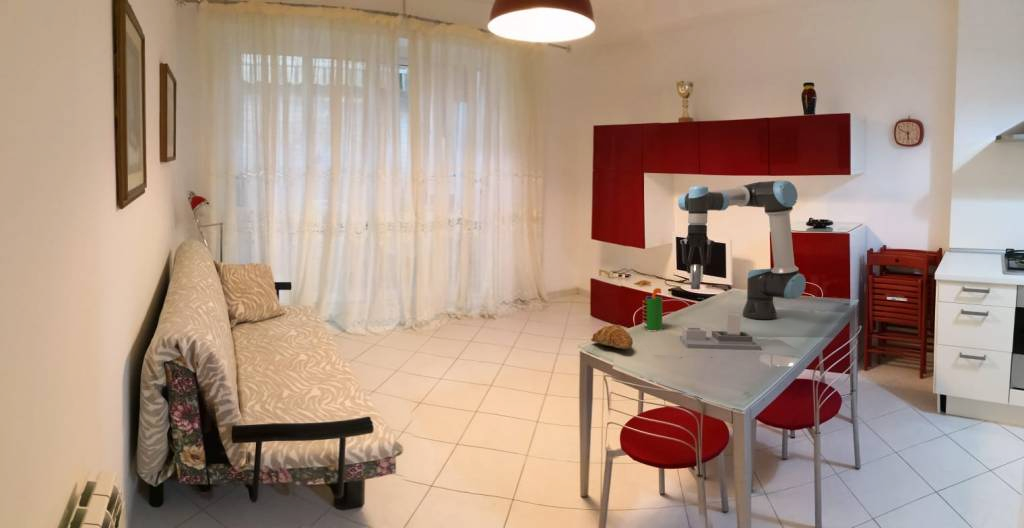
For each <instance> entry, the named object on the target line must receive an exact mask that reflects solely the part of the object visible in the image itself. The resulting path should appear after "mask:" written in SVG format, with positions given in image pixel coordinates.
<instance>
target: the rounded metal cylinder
mask: <svg viewBox="0 0 1024 528" xmlns="http://www.w3.org/2000/svg"><path fill="white" fill-rule="evenodd" d="M691 265H692V266H693V277H692V282H690V289H691V290H701V282H700V270H701V266H702V264H700V263H699V264H696V263H693V264H692V263H691Z"/></svg>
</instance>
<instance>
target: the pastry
mask: <svg viewBox="0 0 1024 528" xmlns="http://www.w3.org/2000/svg"><path fill="white" fill-rule="evenodd" d="M590 340H591V342H593V343H596V344H601V345H604V346H609V347H614V348H616V349H625V350H628V349H630V348H632V346H633V343H634V342H633V341H634V340H633V338H632V336H631V335H630V333H629V332H628V331H627V330H626V329H624V328H623V327H622V326H621V325H617V324H611V325H609V326H608V325H606V326H604V327H603V328H600V329H599V330H597V331H596V332H594V333H593V335H592V338H591V339H590Z"/></svg>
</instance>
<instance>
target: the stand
mask: <svg viewBox="0 0 1024 528" xmlns="http://www.w3.org/2000/svg"><path fill="white" fill-rule="evenodd" d="M679 340H680V341H681V342H682V344H683V345H684V346H685V347H686V348H687V349H717V350H718V349H719V350H747V351H749V350H750V351H751V350H753V351H761V350H762V347H761V346H762V345H760V344H758V343H757V342H755V341H754V340H753V336H752V335H750V334H749V333H747V332H746V331H740V336H724V330H711V336H707V329H705V328H703V327H701V326H700V327H693V326H690V327H689V326H683V327H682V335H680V336H679Z"/></svg>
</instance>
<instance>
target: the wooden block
mask: <svg viewBox="0 0 1024 528" xmlns="http://www.w3.org/2000/svg"><path fill="white" fill-rule="evenodd" d="M723 315H724V316H723V331H724V336H740V332H741V319H742V316H741V314H739V313H734V312H729V313H728V312H725V313H723Z"/></svg>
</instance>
